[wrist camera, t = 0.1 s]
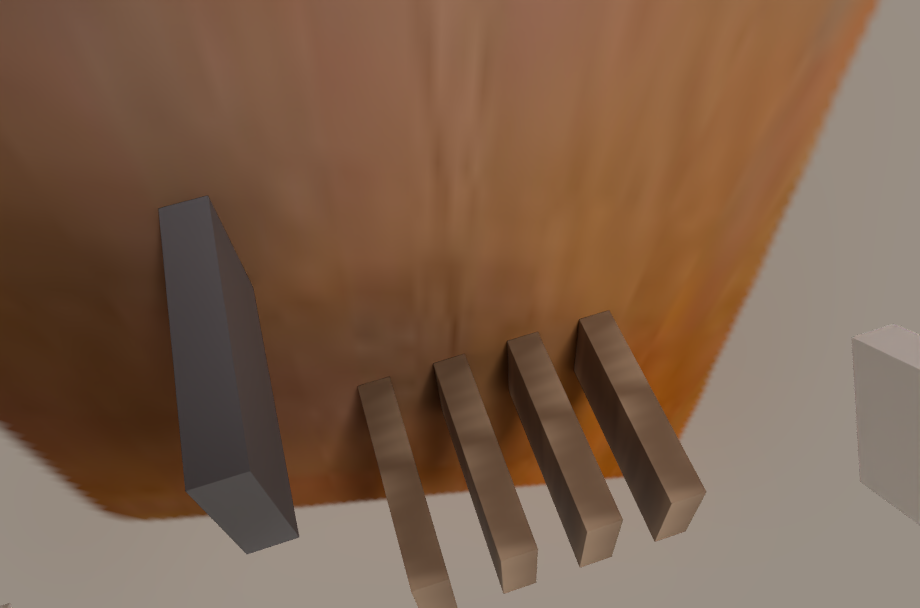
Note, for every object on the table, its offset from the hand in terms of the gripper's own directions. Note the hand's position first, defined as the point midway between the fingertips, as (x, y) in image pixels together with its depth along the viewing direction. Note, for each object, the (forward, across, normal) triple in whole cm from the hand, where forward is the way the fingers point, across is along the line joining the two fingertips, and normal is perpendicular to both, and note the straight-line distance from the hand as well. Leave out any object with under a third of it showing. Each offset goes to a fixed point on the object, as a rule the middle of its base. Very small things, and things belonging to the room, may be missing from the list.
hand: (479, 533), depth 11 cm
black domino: (+17, -5, +2) cm, 18 cm away
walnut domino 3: (+25, +6, -9) cm, 28 cm away
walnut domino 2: (+25, +2, -9) cm, 27 cm away
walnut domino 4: (+25, +10, -9) cm, 29 cm away
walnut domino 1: (+25, -1, -9) cm, 27 cm away
